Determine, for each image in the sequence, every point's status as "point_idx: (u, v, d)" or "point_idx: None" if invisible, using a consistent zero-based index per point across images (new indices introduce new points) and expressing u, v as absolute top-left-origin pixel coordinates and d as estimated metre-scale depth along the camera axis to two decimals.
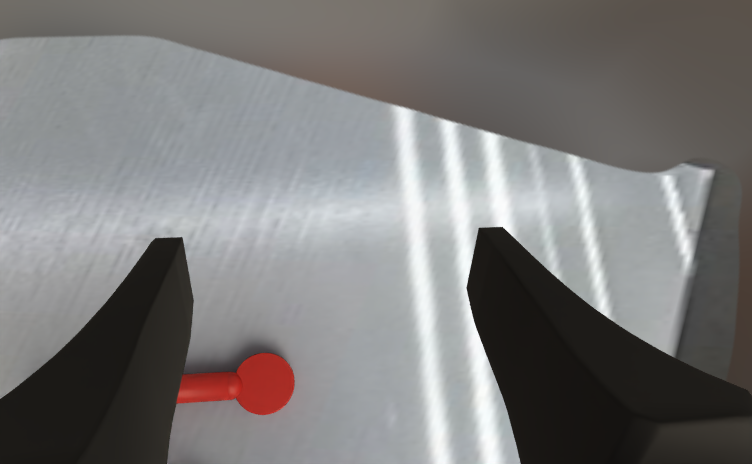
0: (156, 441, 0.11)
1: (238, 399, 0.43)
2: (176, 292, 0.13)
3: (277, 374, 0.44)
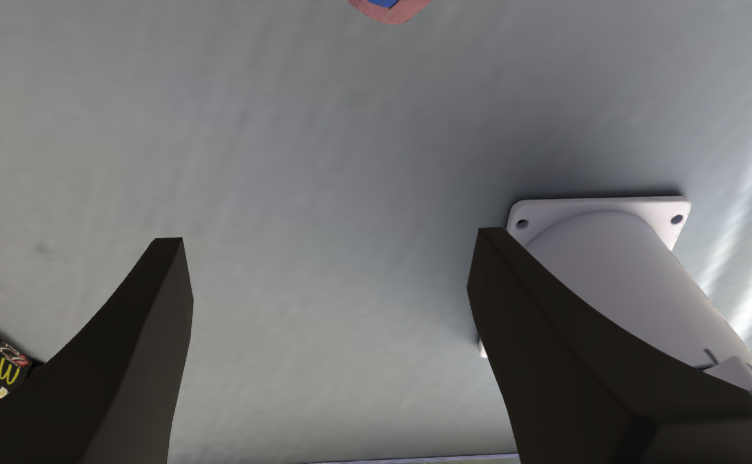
0: (156, 441, 0.11)
1: None
2: (176, 292, 0.13)
3: None
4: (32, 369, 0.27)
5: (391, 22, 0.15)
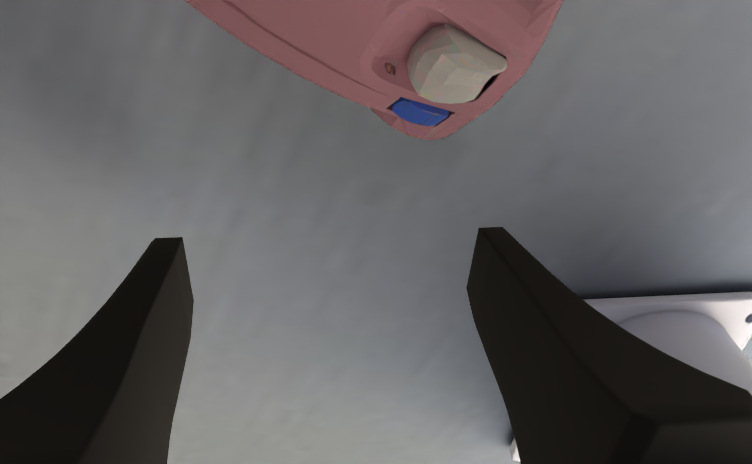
0: (156, 441, 0.11)
1: None
2: (176, 292, 0.13)
3: None
4: None
5: (435, 137, 0.11)
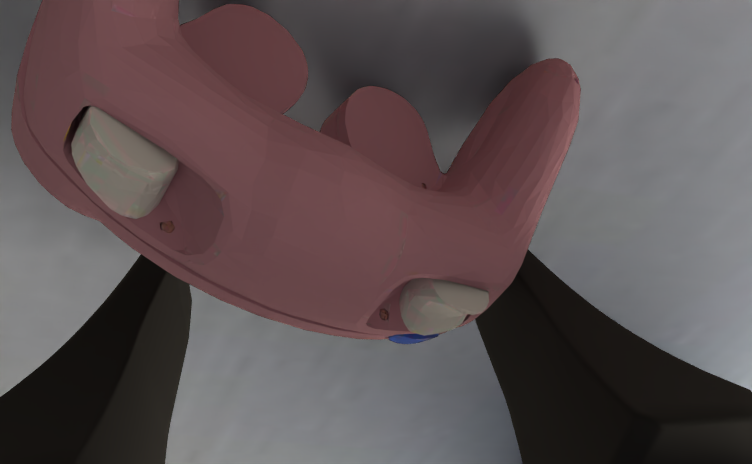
0: (154, 441, 0.11)
1: None
2: (174, 292, 0.13)
3: None
4: None
5: None
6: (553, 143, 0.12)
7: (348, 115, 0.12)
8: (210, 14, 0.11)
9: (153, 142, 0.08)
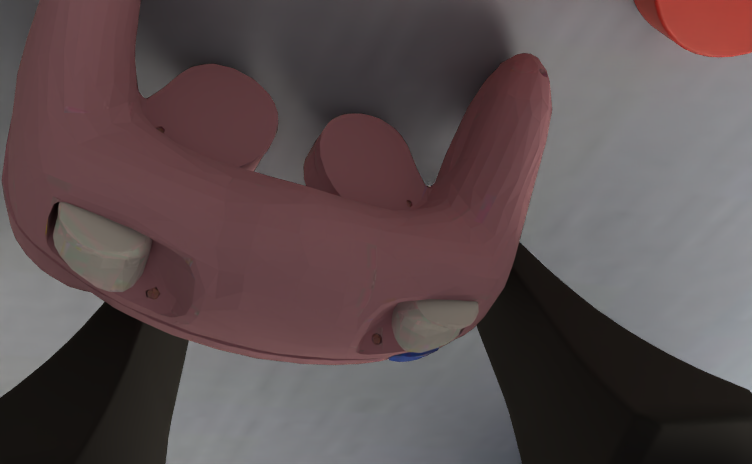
0: (154, 441, 0.11)
1: None
2: None
3: None
4: None
5: None
6: (526, 143, 0.12)
7: (323, 149, 0.12)
8: (175, 80, 0.12)
9: (120, 224, 0.09)
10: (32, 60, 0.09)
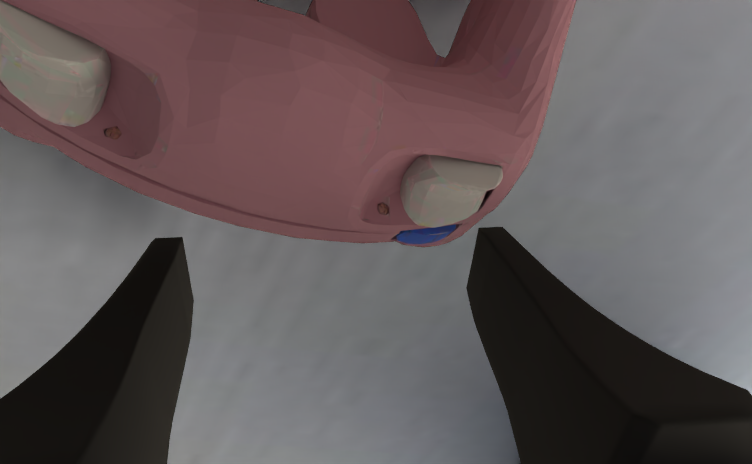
0: (156, 441, 0.11)
1: None
2: (176, 292, 0.13)
3: None
4: None
5: None
6: None
7: (319, 5, 0.11)
8: None
9: (68, 30, 0.07)
10: None
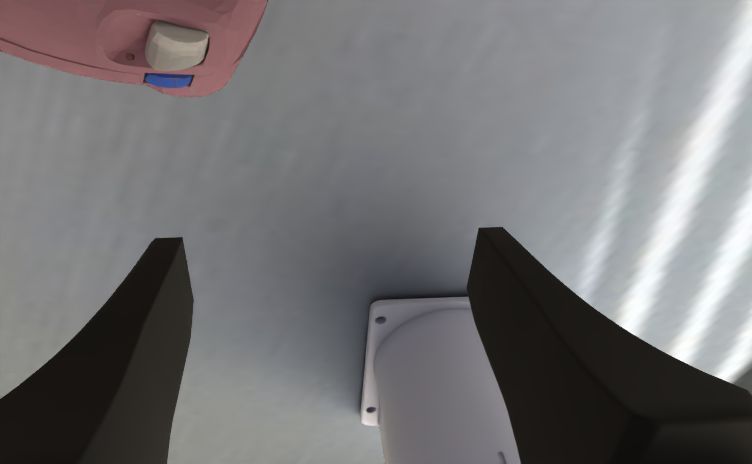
0: (156, 441, 0.11)
1: None
2: (176, 292, 0.13)
3: None
4: None
5: (202, 94, 0.17)
6: None
7: None
8: None
9: None
10: None
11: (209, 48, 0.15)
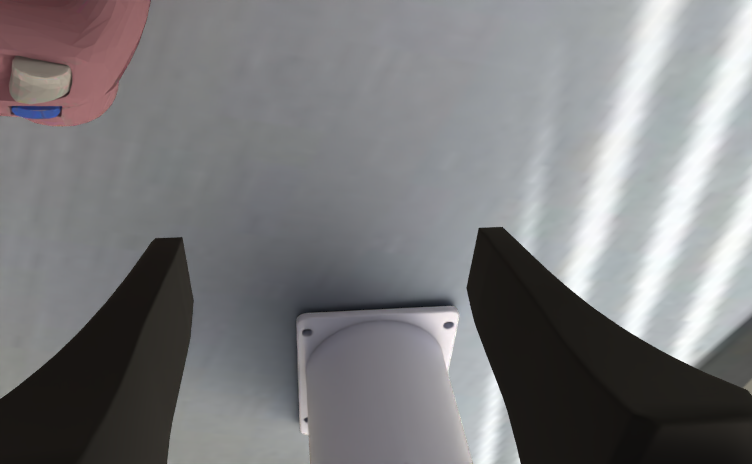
0: (156, 441, 0.11)
1: None
2: (176, 292, 0.13)
3: None
4: None
5: (77, 123, 0.17)
6: None
7: None
8: None
9: None
10: None
11: (73, 81, 0.16)
